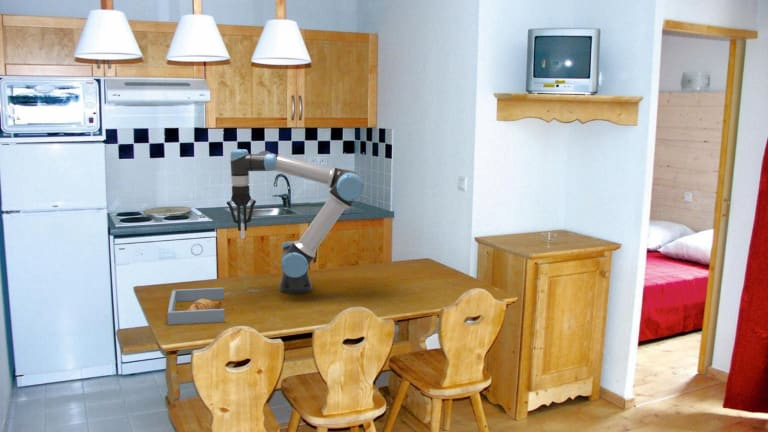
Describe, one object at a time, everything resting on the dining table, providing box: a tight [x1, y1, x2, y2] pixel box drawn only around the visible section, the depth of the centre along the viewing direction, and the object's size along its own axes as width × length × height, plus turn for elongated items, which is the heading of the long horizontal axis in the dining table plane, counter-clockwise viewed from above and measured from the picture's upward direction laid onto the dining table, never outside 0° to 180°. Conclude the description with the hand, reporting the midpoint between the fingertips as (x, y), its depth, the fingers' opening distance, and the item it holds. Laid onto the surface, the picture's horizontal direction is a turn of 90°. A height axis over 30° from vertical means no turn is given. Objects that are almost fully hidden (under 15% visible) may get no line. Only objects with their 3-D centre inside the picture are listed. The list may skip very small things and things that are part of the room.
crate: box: [167, 287, 226, 326], centre depth 296 cm, size 22×33×5 cm, turn 13°
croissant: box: [185, 299, 222, 311], centre depth 292 cm, size 21×10×8 cm, turn 149°
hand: (242, 237), depth 310 cm, fingers closed
